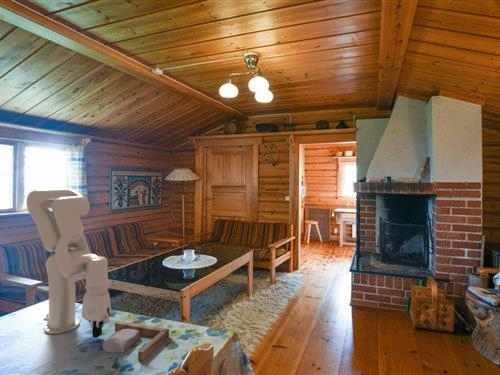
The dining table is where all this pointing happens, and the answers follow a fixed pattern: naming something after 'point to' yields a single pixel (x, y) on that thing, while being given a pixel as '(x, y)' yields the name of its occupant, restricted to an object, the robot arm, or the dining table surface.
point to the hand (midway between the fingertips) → (97, 335)
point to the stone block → (121, 340)
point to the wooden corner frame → (155, 332)
